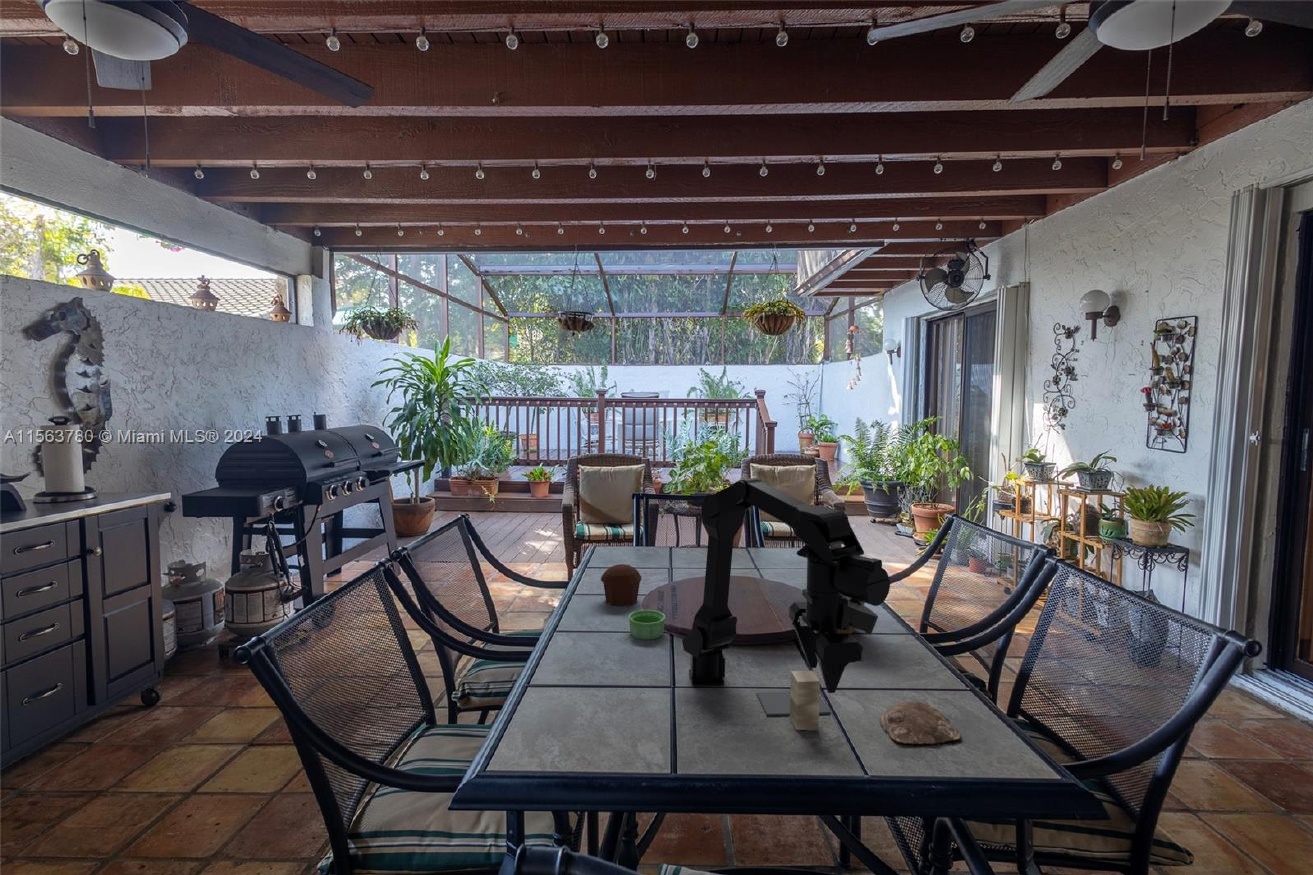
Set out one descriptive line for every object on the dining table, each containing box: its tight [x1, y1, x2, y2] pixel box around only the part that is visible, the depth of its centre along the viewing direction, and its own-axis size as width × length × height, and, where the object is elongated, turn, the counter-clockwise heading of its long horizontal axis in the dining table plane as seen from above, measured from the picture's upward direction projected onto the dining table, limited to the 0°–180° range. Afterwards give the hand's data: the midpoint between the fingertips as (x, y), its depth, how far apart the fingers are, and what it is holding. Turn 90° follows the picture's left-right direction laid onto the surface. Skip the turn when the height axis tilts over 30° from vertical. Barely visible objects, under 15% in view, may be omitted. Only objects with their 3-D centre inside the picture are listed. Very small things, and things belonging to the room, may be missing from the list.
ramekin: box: [628, 609, 666, 641], centre depth 150 cm, size 9×9×4 cm
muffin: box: [600, 563, 642, 607], centre depth 172 cm, size 12×11×10 cm
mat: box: [756, 690, 831, 717], centre depth 117 cm, size 12×8×1 cm, turn 94°
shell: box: [879, 701, 962, 747], centre depth 109 cm, size 12×13×4 cm
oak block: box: [789, 670, 821, 731], centre depth 110 cm, size 4×4×9 cm
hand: (821, 679), depth 101 cm, fingers open, 8 cm apart
